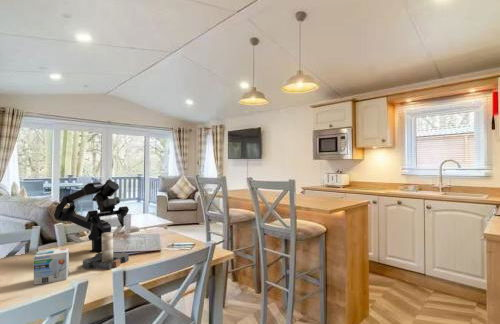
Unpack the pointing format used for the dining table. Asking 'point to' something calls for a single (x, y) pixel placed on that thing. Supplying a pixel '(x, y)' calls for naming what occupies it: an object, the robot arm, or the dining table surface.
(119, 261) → the pixel heart plate
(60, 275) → the light bulb box
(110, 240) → the pin
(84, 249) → the dining table surface
